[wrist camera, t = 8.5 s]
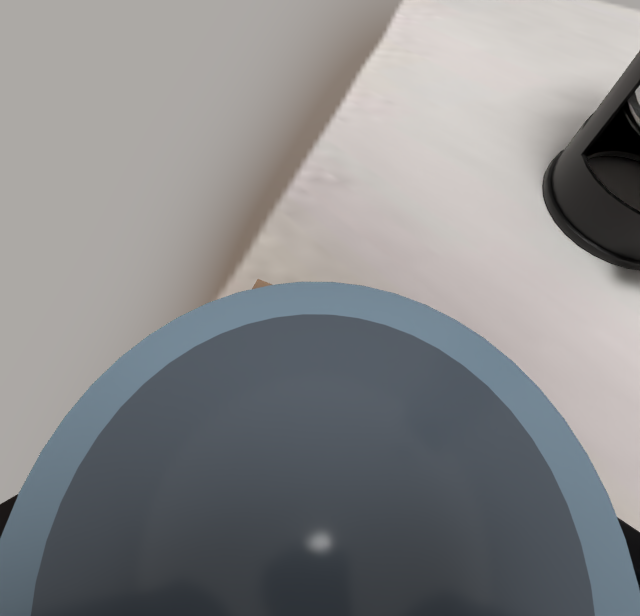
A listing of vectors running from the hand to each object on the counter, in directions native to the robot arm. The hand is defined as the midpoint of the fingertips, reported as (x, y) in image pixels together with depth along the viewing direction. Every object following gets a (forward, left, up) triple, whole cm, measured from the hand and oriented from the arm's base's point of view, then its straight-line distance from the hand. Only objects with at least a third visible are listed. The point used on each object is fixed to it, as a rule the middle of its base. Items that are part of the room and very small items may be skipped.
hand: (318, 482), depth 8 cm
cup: (-1, 0, -9) cm, 9 cm away
